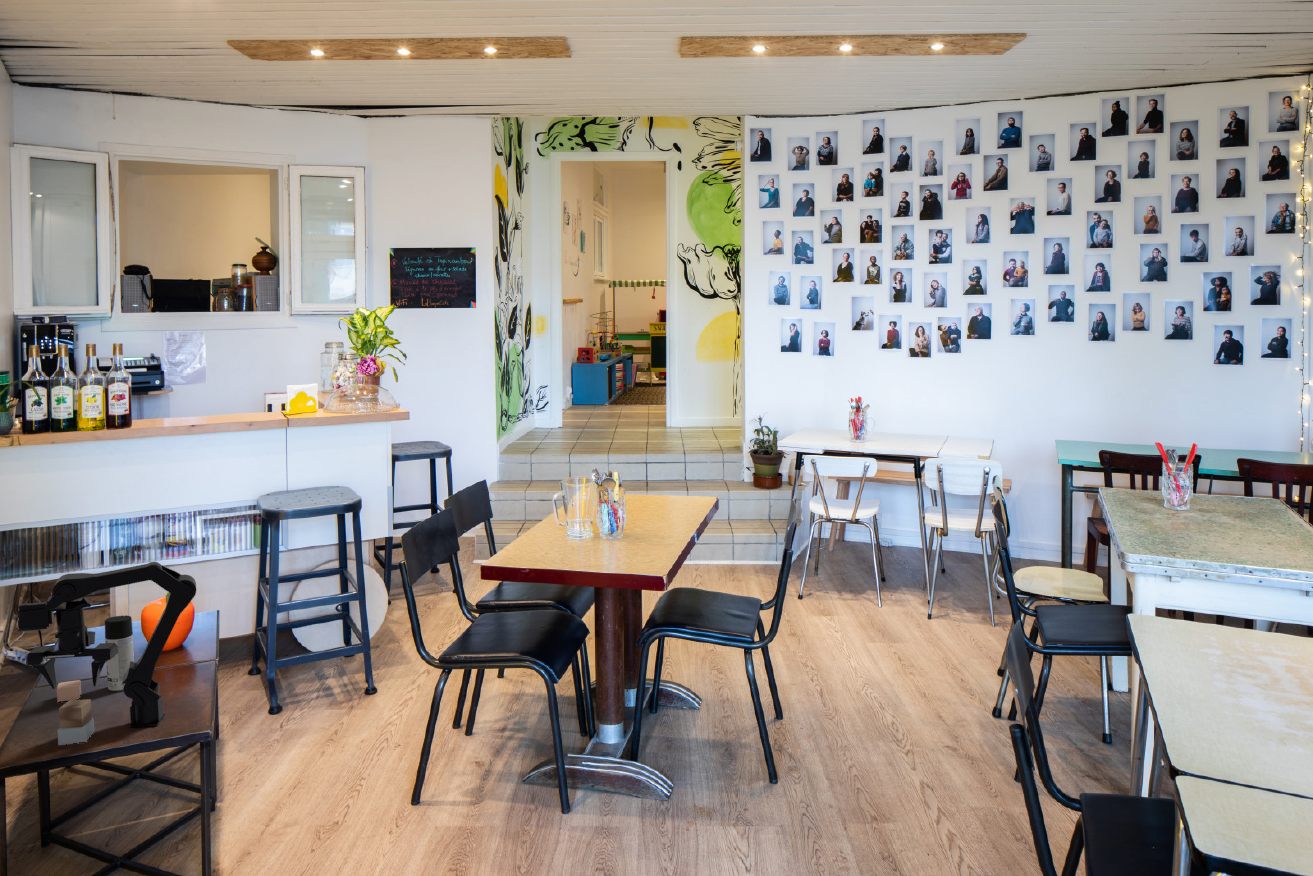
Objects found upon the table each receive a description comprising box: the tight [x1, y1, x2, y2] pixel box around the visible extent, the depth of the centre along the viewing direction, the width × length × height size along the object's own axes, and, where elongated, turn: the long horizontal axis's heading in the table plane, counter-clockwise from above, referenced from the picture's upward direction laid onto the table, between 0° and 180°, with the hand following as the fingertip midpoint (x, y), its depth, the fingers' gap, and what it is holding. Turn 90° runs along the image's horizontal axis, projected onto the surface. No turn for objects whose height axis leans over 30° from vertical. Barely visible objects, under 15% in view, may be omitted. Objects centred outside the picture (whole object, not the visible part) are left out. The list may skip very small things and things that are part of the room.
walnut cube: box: [58, 698, 93, 728], centre depth 223 cm, size 5×5×5 cm
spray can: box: [104, 614, 135, 692], centre depth 255 cm, size 7×7×20 cm
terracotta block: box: [56, 679, 82, 703], centre depth 248 cm, size 5×5×4 cm
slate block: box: [56, 717, 95, 746], centre depth 223 cm, size 6×6×4 cm
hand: (75, 687), depth 225 cm, fingers open, 9 cm apart
